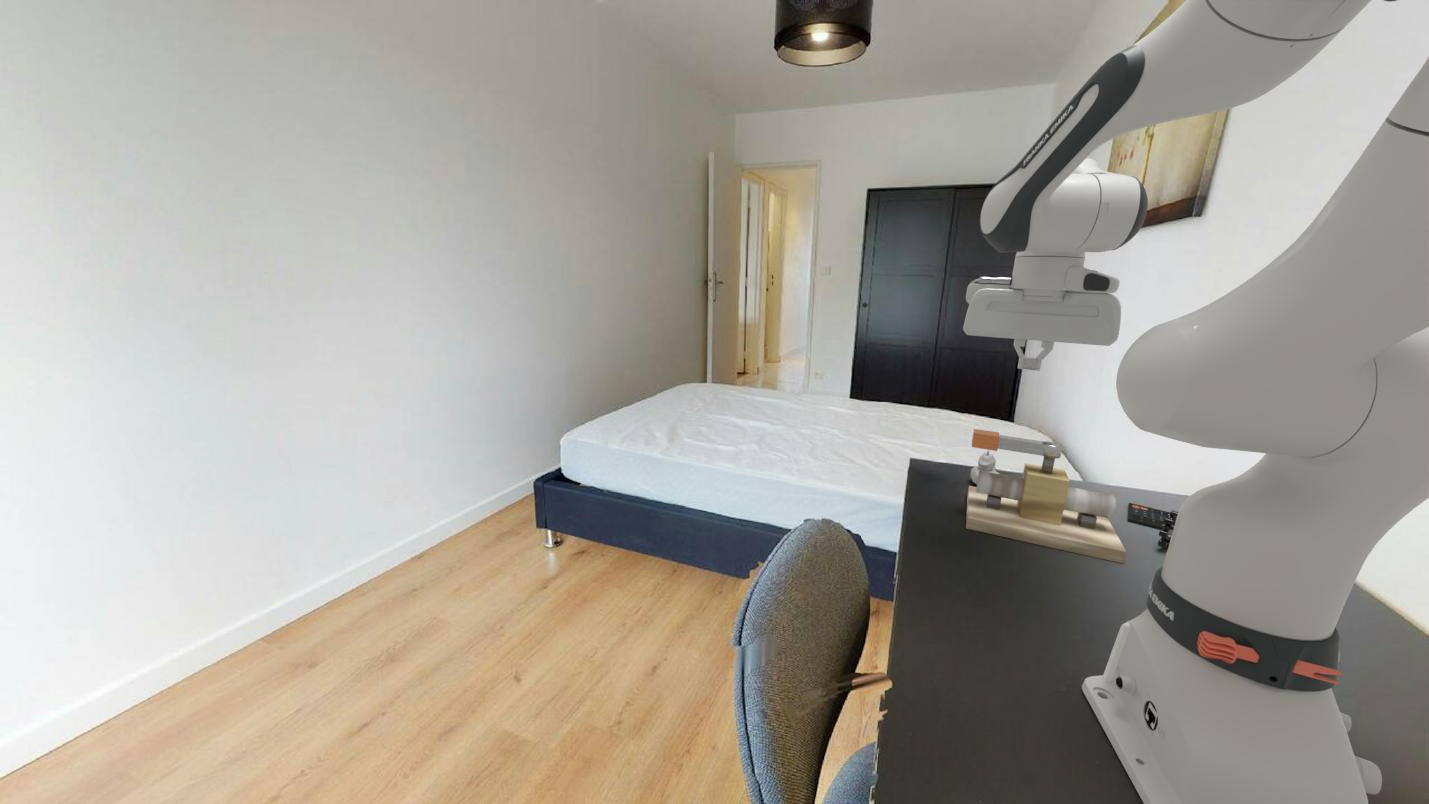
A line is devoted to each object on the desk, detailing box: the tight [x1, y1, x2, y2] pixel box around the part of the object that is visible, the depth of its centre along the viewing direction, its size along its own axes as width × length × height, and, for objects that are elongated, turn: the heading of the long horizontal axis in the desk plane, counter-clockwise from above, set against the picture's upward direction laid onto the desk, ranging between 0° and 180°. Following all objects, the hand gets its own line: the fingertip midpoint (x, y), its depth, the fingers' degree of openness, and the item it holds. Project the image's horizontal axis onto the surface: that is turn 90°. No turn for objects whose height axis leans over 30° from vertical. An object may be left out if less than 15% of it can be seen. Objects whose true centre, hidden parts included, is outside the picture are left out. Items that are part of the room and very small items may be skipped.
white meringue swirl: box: [970, 450, 1000, 485], centre depth 107 cm, size 5×7×8 cm
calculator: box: [1127, 502, 1171, 531], centre depth 93 cm, size 9×12×3 cm
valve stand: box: [965, 456, 1127, 564], centre depth 89 cm, size 16×22×13 cm
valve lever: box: [971, 428, 1063, 459], centre depth 90 cm, size 14×3×3 cm, turn 64°
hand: (1028, 369), depth 80 cm, fingers closed
